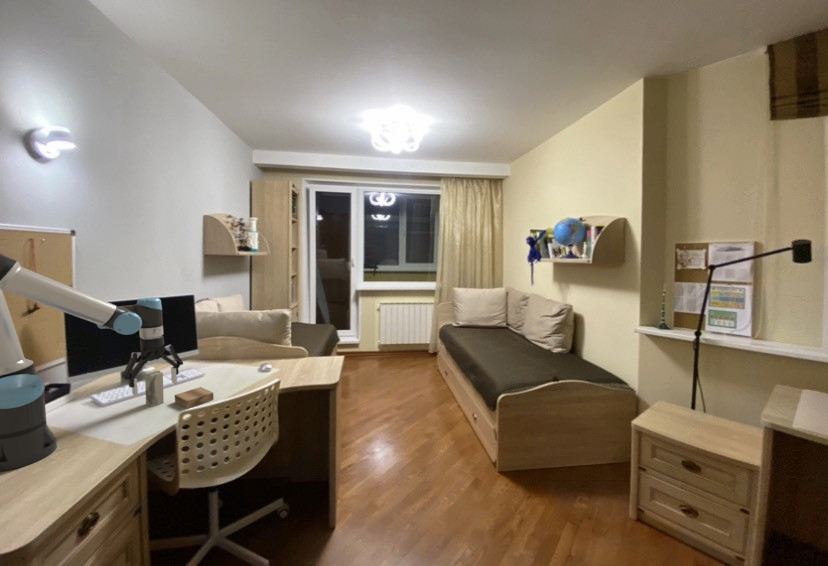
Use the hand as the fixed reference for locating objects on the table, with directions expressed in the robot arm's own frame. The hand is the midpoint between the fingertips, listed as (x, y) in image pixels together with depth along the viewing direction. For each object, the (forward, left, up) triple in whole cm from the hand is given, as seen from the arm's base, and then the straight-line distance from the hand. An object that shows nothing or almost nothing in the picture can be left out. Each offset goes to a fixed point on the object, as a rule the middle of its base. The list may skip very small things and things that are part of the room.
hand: (155, 388), depth 140 cm
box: (0, 0, -6) cm, 6 cm away
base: (+10, -10, -6) cm, 15 cm away
